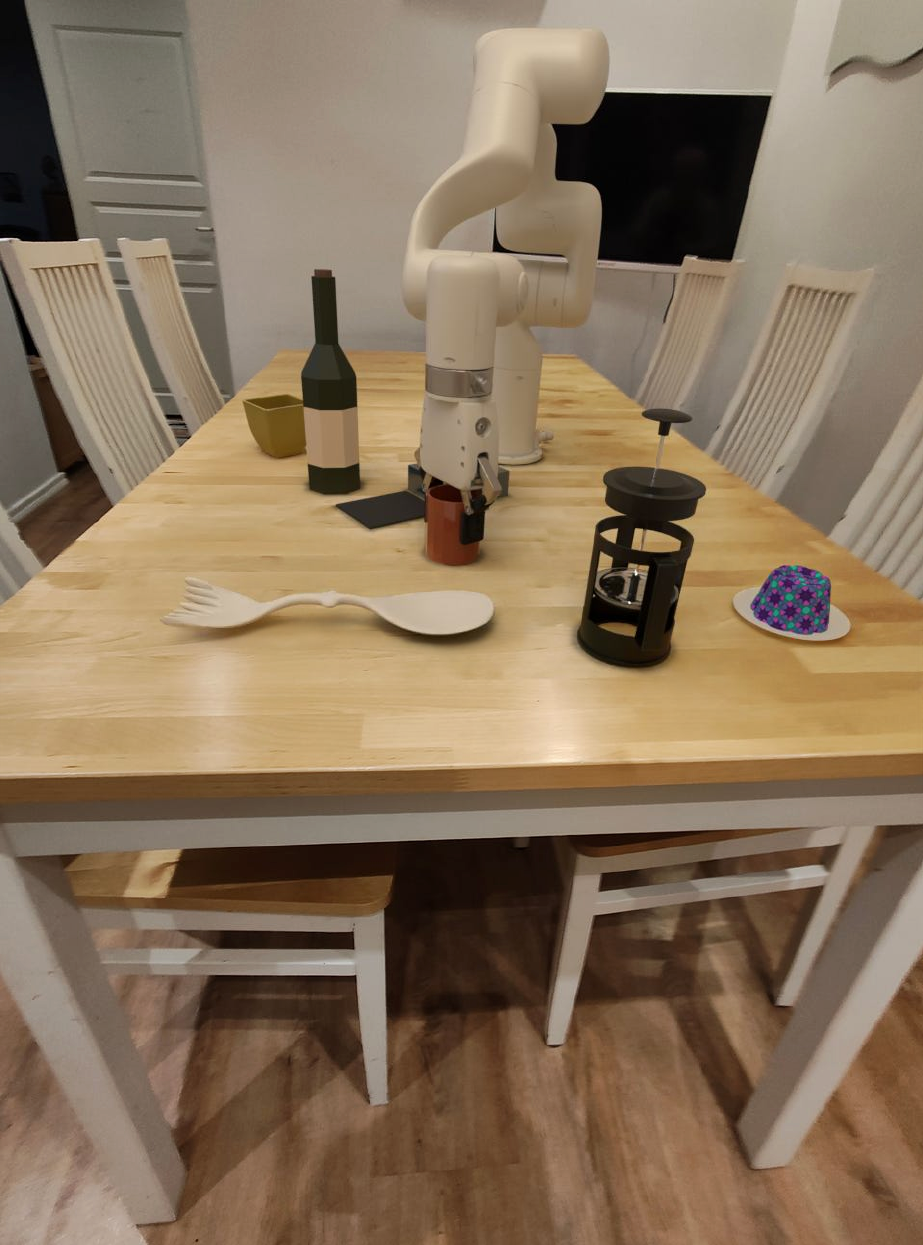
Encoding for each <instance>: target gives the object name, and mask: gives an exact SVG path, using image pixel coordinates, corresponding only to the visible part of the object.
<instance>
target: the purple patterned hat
mask: <svg viewBox="0 0 923 1245" xmlns="http://www.w3.org/2000/svg"><path fill="white" fill-rule="evenodd" d="M831 597H832V583H831V580H830V579H829V577H827V575H824V574H823V573H822V572H821V571H818V570H816V569H815V568H814V569H813V568H808V567H806V566H803V565H797V564H796V565H790V564H783V565H781V566H778V567H777V568H774V569H773V570H772V571H771V572H770V573H769V574H768V576H767V578H766V579H765V581H764V582H763V584H762V586H755V587H754V586H753V587H748V588H745V589H742V590H739V591H738V592H736V593H735V595H734V596H733V600H732V604H733V607H734V609H735V610H736V611H737V613H738V614H740V616H742V617H743V618H744V619H745V620H747V621H748V622H750V623H751V624H753V625H755V626H757V627H759V628H761V629H763V630H766V631H768V632H770V633H774V634H777V635H780V636H783V637H788V638H791V639H797V640H805V641H830V640H831V641H832V640H837V639H840V638H842V637H844V636H846V635H847V634H849V632H850V630H851V622H850V619H849V618H848V617H847V615H846V614H845V613H844V612H843V611H842V610H841V609H839V608H838V607H837V606H835V605H833V604H832V603H831V599H832V598H831Z"/></svg>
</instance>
